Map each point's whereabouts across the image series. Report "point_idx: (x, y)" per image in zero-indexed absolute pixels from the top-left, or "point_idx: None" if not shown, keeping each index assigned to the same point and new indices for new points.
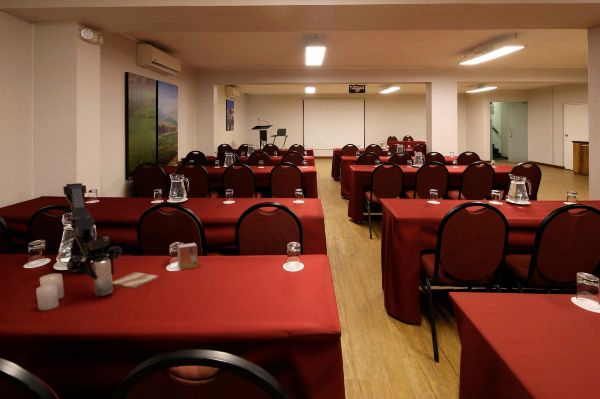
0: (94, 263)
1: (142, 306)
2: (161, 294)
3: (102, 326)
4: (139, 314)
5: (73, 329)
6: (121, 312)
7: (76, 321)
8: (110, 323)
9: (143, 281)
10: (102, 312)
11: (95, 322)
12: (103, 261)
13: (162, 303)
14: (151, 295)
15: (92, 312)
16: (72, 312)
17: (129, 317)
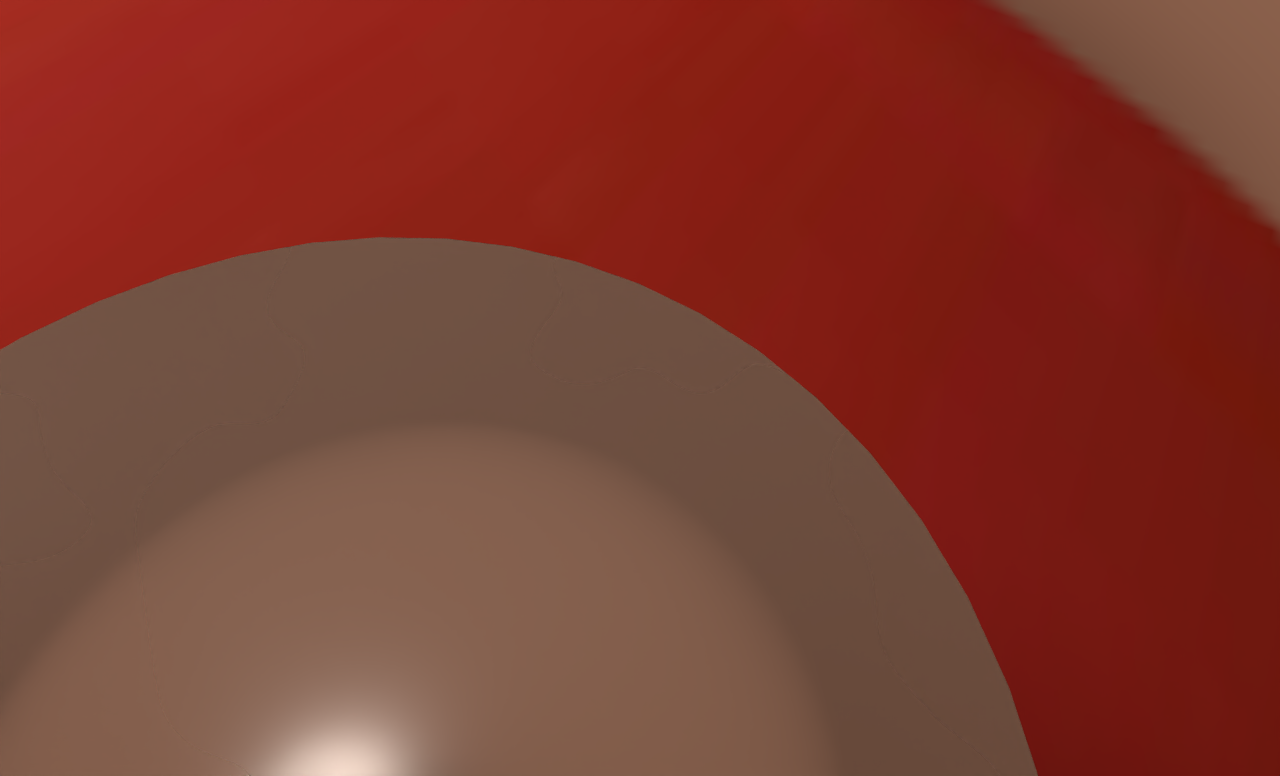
0: (997, 683)
1: (544, 111)
2: (202, 173)
3: (1014, 80)
4: (676, 25)
5: (1257, 214)
6: (755, 159)
7: (1200, 339)
8: (939, 73)
9: None
10: (892, 304)
11: (1038, 177)
12: (391, 455)
13: (400, 31)
14: (267, 235)
15: (980, 397)
16: (1200, 630)
17: (766, 43)
